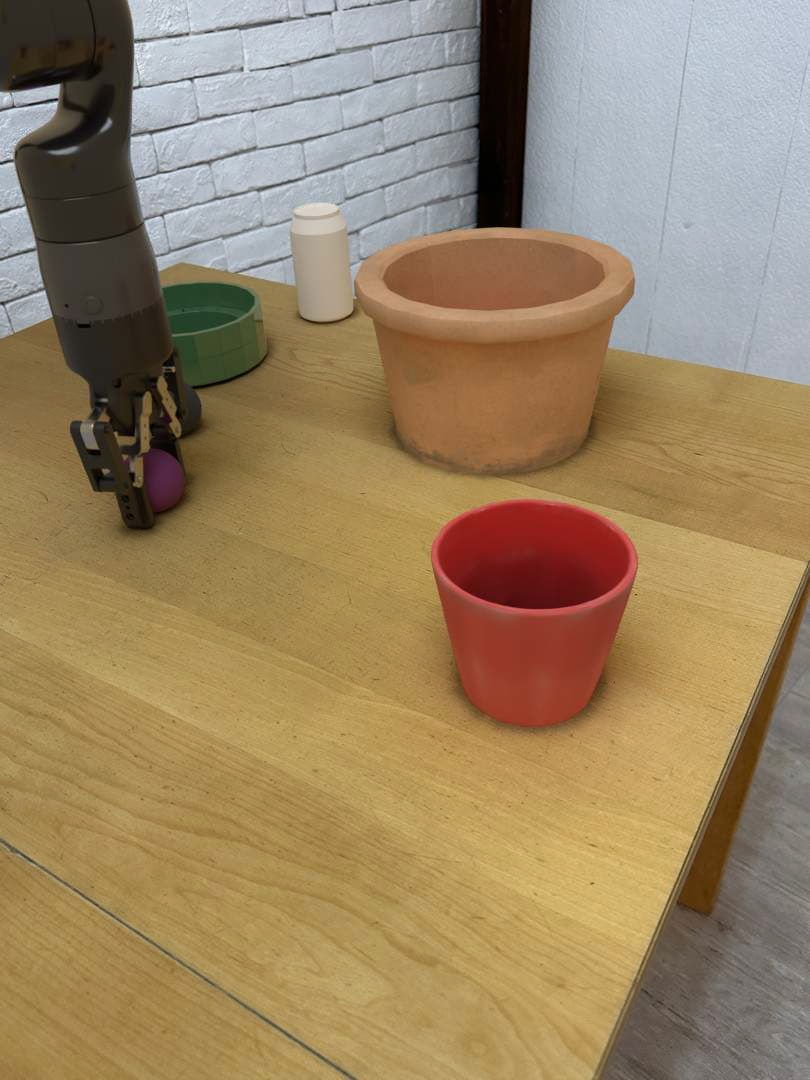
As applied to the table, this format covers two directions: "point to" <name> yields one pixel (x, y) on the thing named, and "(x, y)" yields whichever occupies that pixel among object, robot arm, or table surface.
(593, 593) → the flower pot
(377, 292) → the pottery
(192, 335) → the green bowl
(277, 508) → the table surface
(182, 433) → the grey ball
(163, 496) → the plum ball
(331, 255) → the beverage can
